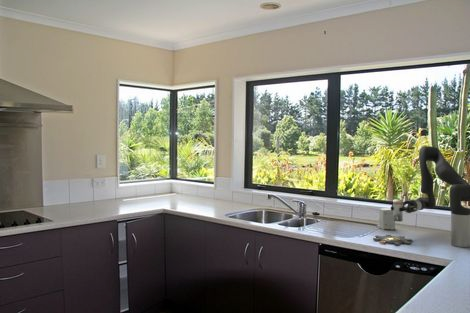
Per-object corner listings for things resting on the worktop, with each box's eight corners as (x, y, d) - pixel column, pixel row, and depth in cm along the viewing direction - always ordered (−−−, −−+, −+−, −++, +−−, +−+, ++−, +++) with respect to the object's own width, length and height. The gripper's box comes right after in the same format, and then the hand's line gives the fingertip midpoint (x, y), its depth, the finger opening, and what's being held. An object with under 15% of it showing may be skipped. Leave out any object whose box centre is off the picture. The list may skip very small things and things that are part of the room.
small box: (390, 227, 256) (390, 207, 255) (395, 229, 249) (395, 209, 249) (378, 227, 255) (378, 208, 255) (383, 230, 249) (383, 209, 248)
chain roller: (404, 220, 224) (404, 200, 223) (399, 221, 221) (399, 201, 220) (396, 219, 228) (396, 199, 227) (391, 220, 225) (391, 200, 224)
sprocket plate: (420, 241, 218) (420, 239, 218) (399, 247, 206) (399, 245, 206) (386, 234, 235) (386, 232, 235) (365, 240, 223) (365, 237, 223)
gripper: (401, 198, 238) (384, 201, 228) (423, 201, 226) (407, 204, 217) (400, 210, 238) (384, 213, 229) (423, 213, 227) (407, 217, 217)
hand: (395, 209), depth 223 cm, fingers closed on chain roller, 5 cm apart
